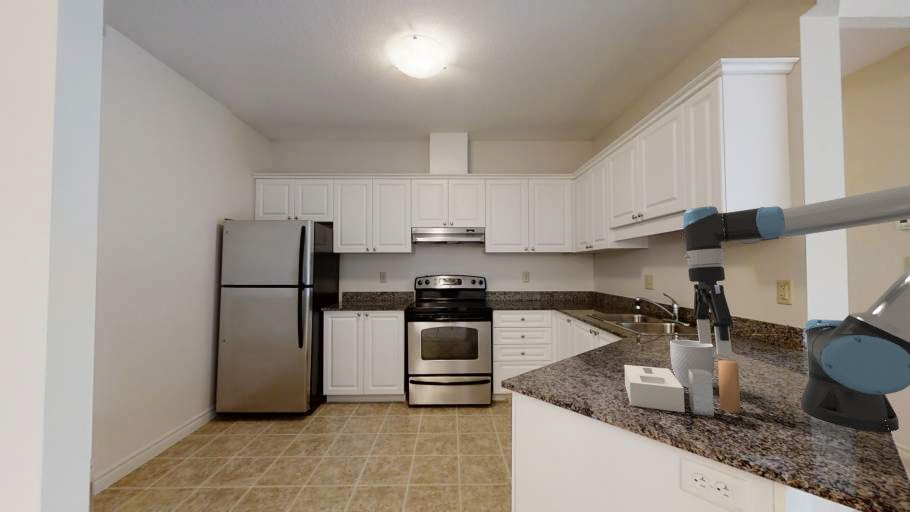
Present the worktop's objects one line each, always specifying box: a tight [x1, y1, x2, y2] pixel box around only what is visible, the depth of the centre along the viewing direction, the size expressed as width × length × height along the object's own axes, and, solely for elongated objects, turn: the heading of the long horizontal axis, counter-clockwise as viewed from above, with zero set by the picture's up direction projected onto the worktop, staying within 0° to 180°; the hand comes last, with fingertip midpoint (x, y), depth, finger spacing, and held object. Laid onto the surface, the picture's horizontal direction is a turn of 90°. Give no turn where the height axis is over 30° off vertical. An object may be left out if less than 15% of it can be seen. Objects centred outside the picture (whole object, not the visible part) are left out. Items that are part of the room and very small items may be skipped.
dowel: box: [717, 359, 741, 414], centre depth 85 cm, size 4×4×12 cm
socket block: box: [624, 364, 685, 413], centre depth 94 cm, size 12×18×6 cm, turn 157°
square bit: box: [688, 369, 715, 417], centre depth 84 cm, size 4×4×10 cm
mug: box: [669, 339, 727, 389], centre depth 101 cm, size 15×11×13 cm
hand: (714, 348), depth 85 cm, fingers open, 13 cm apart
